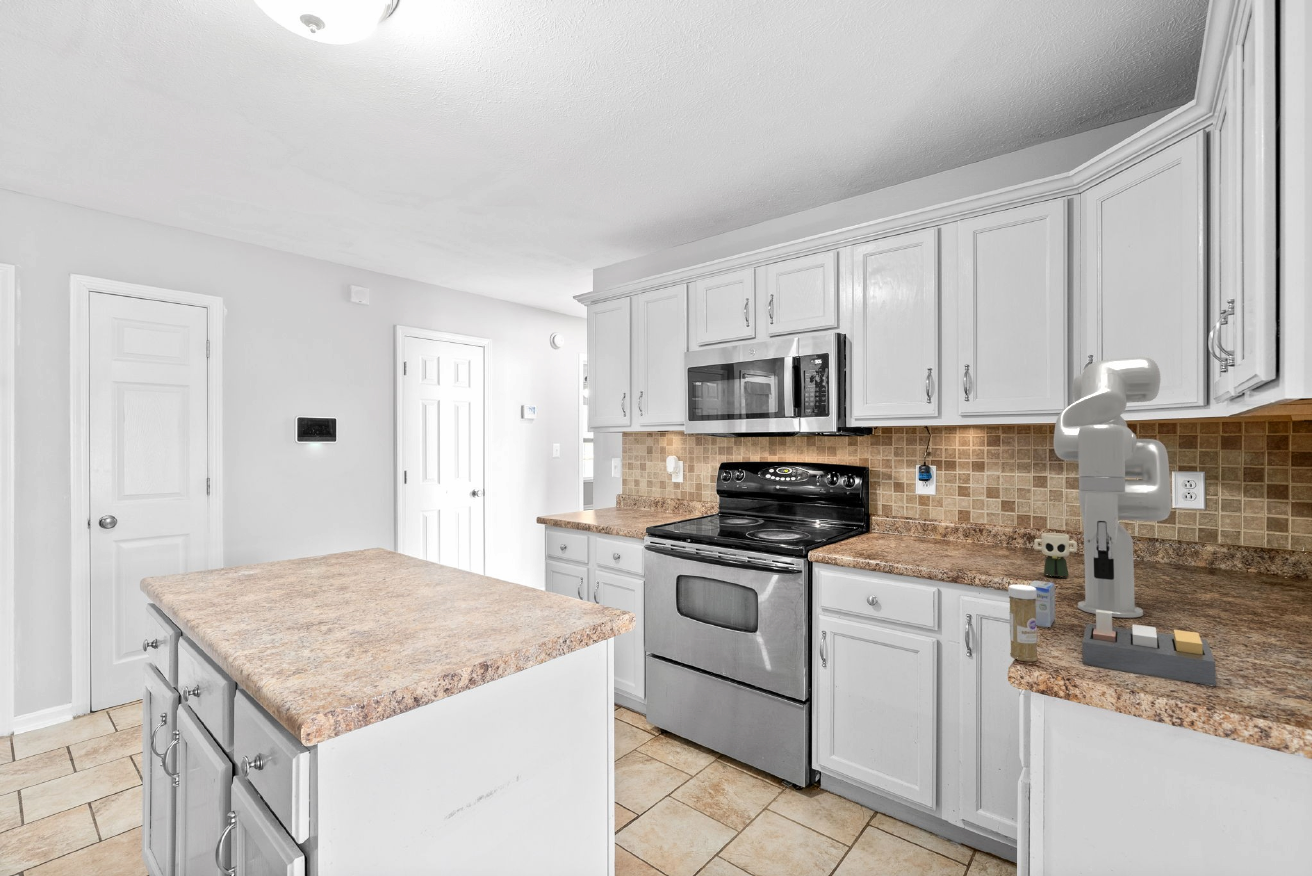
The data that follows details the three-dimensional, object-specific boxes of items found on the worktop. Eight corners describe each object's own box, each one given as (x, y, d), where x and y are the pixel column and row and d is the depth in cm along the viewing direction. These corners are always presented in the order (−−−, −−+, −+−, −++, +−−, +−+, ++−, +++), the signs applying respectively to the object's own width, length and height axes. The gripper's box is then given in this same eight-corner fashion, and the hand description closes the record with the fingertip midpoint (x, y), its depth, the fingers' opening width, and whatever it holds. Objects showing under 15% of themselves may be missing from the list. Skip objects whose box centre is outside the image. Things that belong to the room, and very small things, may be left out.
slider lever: (1094, 633, 121) (1093, 607, 121) (1115, 636, 119) (1115, 610, 119) (1093, 638, 118) (1092, 612, 118) (1115, 641, 116) (1114, 615, 116)
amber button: (1173, 639, 114) (1173, 629, 114) (1198, 642, 111) (1198, 632, 112) (1176, 650, 107) (1176, 640, 107) (1202, 654, 105) (1202, 643, 105)
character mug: (1034, 577, 188) (1033, 534, 189) (1035, 573, 194) (1034, 531, 195) (1078, 580, 183) (1077, 536, 183) (1077, 576, 189) (1076, 534, 189)
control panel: (1087, 643, 124) (1086, 623, 124) (1206, 661, 113) (1206, 639, 113) (1082, 664, 112) (1082, 642, 112) (1216, 686, 101) (1215, 661, 102)
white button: (1132, 633, 117) (1132, 624, 117) (1155, 636, 115) (1155, 627, 115) (1132, 644, 111) (1132, 634, 111) (1157, 648, 109) (1157, 637, 109)
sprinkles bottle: (1030, 664, 113) (1028, 590, 113) (1005, 657, 117) (1003, 585, 117) (1042, 659, 115) (1041, 586, 116) (1017, 652, 119) (1015, 582, 119)
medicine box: (1033, 617, 144) (1032, 579, 144) (1055, 620, 141) (1054, 582, 142) (1027, 624, 138) (1026, 585, 138) (1050, 628, 135) (1050, 588, 135)
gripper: (1081, 484, 132) (1083, 571, 131) (1076, 486, 120) (1078, 581, 119) (1125, 485, 127) (1127, 575, 127) (1125, 487, 116) (1127, 586, 115)
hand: (1104, 578), depth 123 cm, fingers closed
